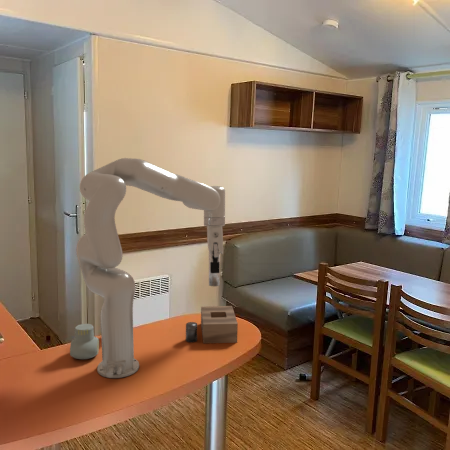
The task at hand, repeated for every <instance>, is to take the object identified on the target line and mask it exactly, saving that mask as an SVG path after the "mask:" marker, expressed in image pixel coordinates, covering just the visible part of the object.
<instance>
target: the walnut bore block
mask: <svg viewBox="0 0 450 450" xmlns="http://www.w3.org/2000/svg"><path fill="white" fill-rule="evenodd" d="M200 325H201V326H200V327H201V336H202V344H224V343H230V344H231V343H238V320H237V317H236V314H235V311H234V308H233V305H217V306H215V305H213V306H211V305H210V306H205V305H204V306H200Z"/></svg>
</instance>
